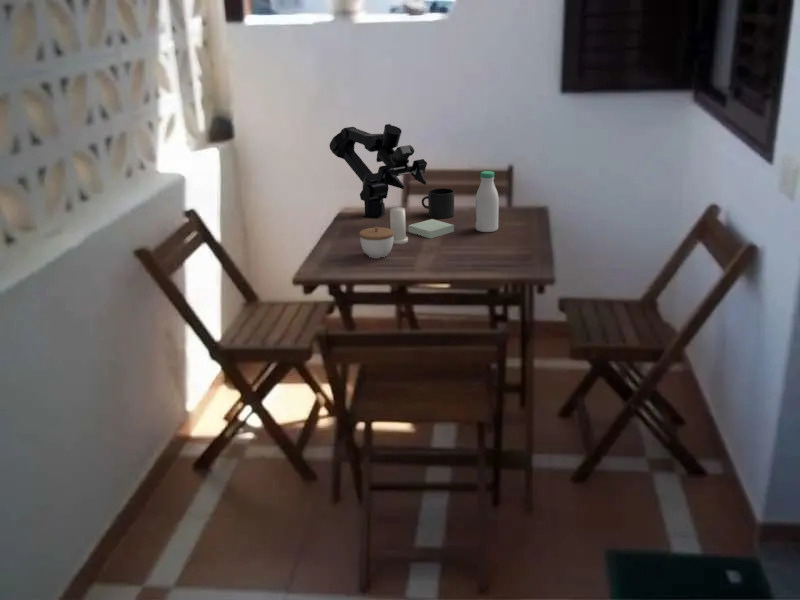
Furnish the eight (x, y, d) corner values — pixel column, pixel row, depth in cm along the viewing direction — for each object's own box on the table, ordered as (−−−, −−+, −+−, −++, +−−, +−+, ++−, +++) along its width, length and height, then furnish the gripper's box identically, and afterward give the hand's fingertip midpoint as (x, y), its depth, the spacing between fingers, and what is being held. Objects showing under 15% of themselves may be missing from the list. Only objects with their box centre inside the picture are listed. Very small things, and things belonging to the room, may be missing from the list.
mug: (424, 211, 325) (423, 187, 321) (456, 212, 322) (456, 188, 319) (419, 218, 316) (418, 193, 313) (452, 219, 313) (451, 194, 310)
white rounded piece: (385, 243, 288) (384, 210, 284) (393, 238, 293) (392, 206, 289) (403, 245, 285) (402, 212, 281) (411, 239, 291) (410, 207, 287)
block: (408, 232, 299) (408, 225, 299) (432, 225, 306) (432, 219, 305) (430, 238, 292) (430, 231, 291) (453, 231, 298) (453, 225, 297)
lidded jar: (355, 253, 278) (354, 225, 275) (386, 248, 282) (385, 220, 279) (367, 262, 269) (366, 233, 266) (399, 257, 273) (398, 228, 270)
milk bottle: (502, 229, 299) (503, 172, 292) (485, 233, 295) (485, 175, 288) (488, 225, 305) (488, 168, 298) (471, 229, 301) (471, 171, 294)
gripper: (373, 143, 293) (397, 170, 285) (418, 136, 303) (442, 162, 294) (366, 169, 300) (389, 197, 292) (410, 162, 310) (434, 188, 302)
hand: (414, 185), depth 295 cm, fingers open, 9 cm apart
